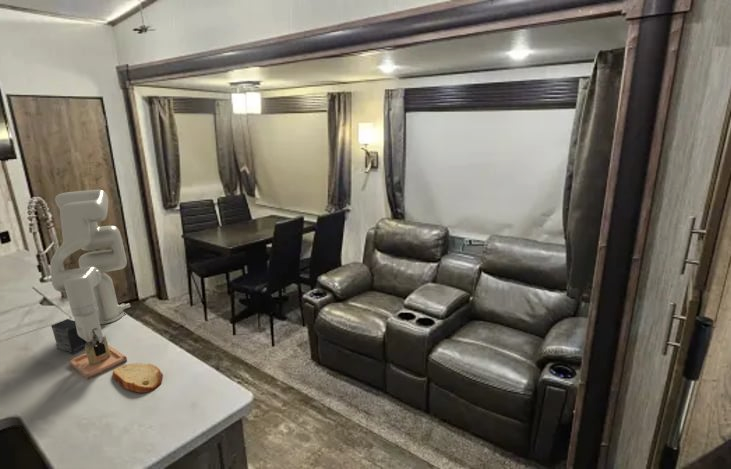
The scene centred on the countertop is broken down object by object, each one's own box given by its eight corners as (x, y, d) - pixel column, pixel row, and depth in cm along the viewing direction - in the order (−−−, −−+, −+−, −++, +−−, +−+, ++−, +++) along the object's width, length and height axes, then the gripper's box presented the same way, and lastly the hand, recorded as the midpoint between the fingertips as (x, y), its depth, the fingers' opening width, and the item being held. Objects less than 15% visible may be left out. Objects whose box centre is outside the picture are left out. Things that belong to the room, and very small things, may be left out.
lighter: (108, 353, 150) (102, 330, 147) (112, 356, 148) (107, 333, 145) (87, 363, 145) (80, 339, 142) (91, 366, 143) (85, 342, 140)
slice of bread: (115, 370, 142) (113, 361, 141) (169, 361, 146) (167, 352, 145) (97, 403, 125) (94, 393, 124) (159, 391, 130) (157, 382, 129)
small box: (90, 346, 158) (83, 322, 155) (72, 354, 152) (66, 330, 149) (74, 340, 162) (67, 317, 159) (56, 349, 156) (49, 325, 153)
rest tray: (107, 347, 156) (106, 343, 155) (127, 360, 147) (126, 356, 146) (69, 364, 146) (68, 360, 145) (87, 379, 137) (86, 375, 136)
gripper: (62, 306, 142) (74, 348, 147) (82, 318, 132) (94, 363, 137) (86, 298, 148) (96, 338, 152) (106, 310, 138) (117, 352, 143)
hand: (95, 350), depth 145 cm, fingers open, 9 cm apart
